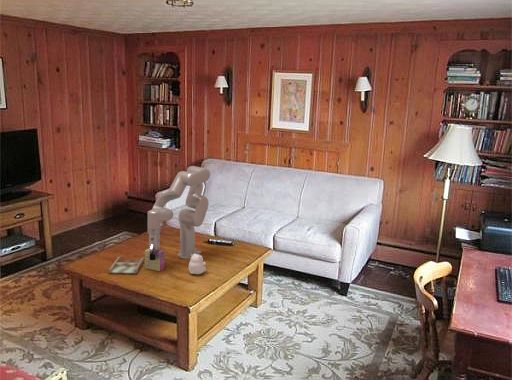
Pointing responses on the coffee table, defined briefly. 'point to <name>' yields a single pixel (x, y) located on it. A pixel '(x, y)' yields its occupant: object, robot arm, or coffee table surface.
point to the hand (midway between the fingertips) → (154, 257)
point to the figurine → (196, 264)
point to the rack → (126, 266)
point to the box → (158, 262)
